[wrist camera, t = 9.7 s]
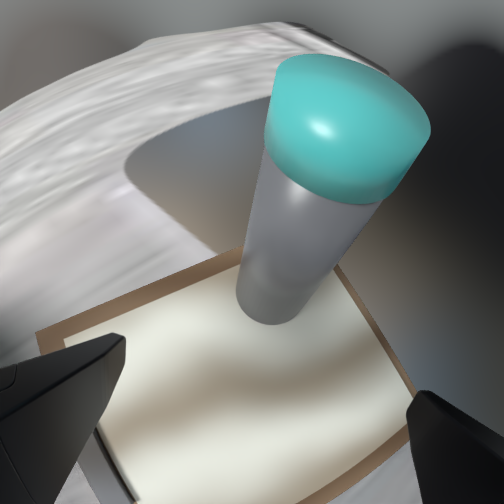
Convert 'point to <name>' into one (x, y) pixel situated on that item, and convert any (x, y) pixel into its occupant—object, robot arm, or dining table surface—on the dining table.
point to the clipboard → (239, 394)
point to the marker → (321, 176)
